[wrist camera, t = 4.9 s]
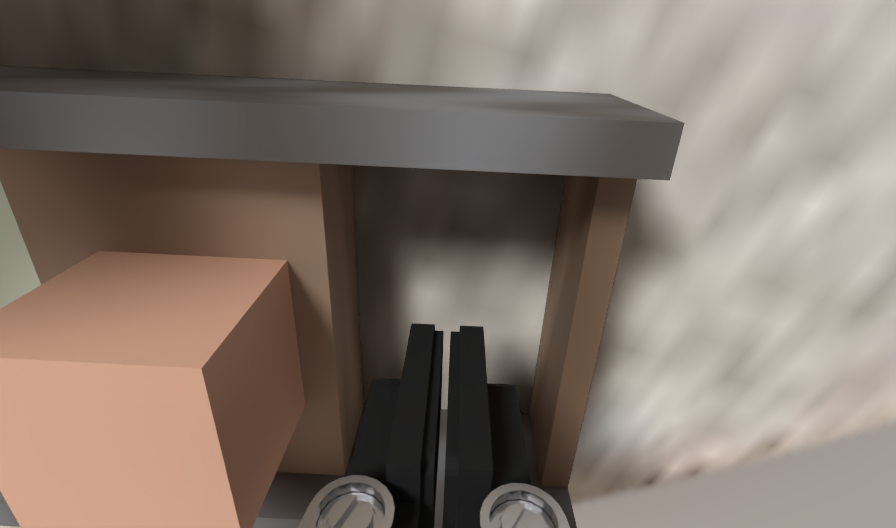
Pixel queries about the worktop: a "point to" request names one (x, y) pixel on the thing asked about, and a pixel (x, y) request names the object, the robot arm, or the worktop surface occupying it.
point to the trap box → (318, 216)
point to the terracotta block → (148, 392)
